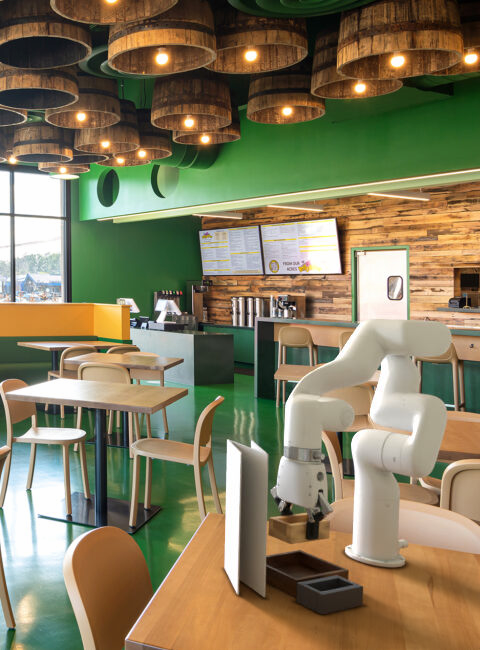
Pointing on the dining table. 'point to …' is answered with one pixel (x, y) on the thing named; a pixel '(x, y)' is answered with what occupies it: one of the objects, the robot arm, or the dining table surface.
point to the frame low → (329, 594)
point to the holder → (298, 570)
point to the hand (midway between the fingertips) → (298, 533)
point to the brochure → (246, 515)
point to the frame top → (295, 528)
